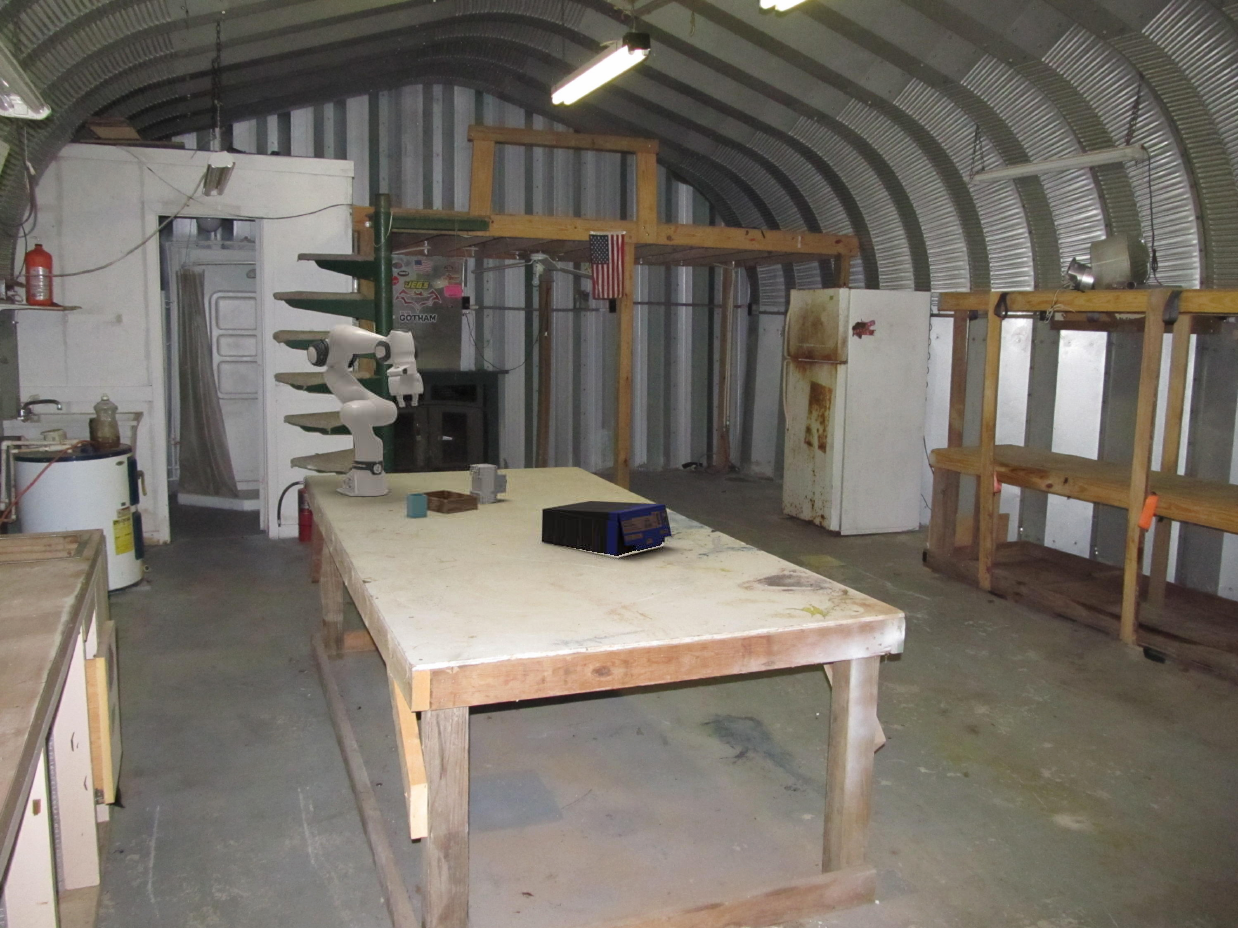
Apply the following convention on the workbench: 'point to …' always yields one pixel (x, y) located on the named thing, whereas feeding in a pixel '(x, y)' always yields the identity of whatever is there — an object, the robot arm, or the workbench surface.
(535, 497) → the workbench surface
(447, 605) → the workbench surface
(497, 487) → the circuit breaker
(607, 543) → the black and blue box
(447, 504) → the walnut crate
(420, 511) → the teal crate
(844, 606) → the workbench surface
